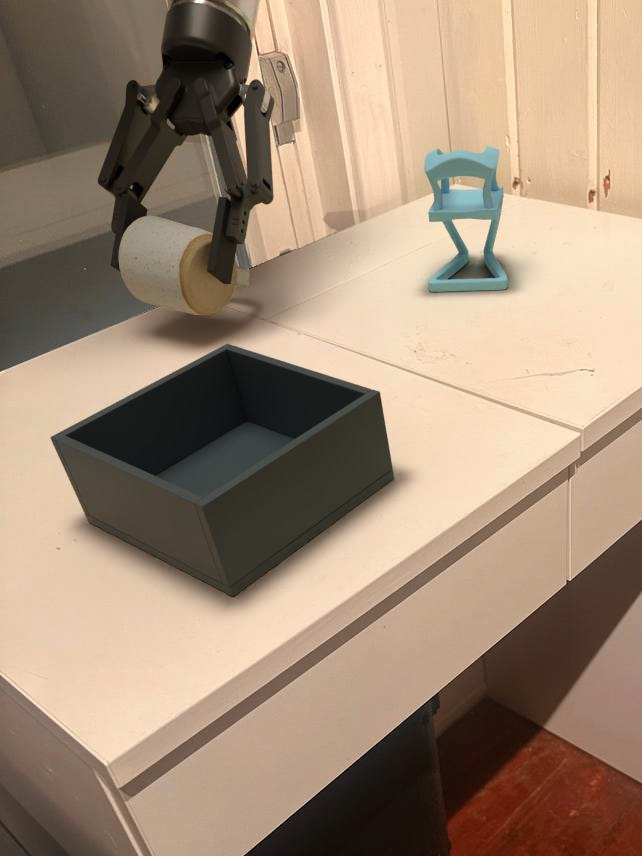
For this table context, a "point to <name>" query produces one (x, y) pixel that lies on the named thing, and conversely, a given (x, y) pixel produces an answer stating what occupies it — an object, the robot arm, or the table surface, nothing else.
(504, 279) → the chair
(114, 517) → the tub
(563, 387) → the table surface
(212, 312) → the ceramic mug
